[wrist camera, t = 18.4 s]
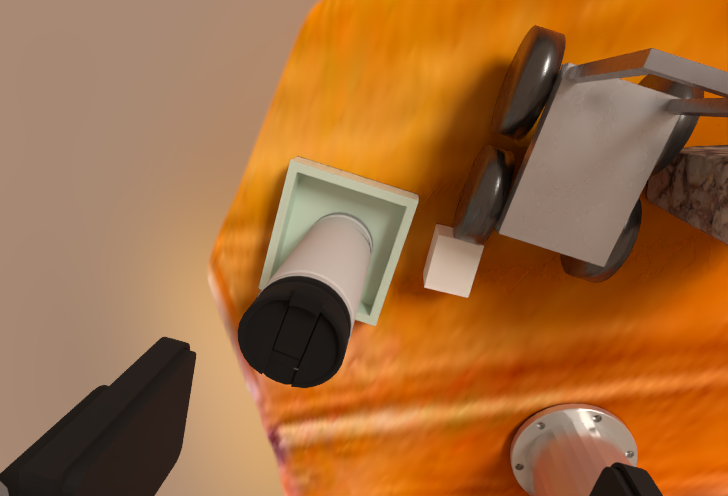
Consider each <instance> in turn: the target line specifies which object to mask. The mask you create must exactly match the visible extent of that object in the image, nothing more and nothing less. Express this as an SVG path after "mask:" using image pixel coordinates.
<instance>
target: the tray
mask: <svg viewBox="0 0 728 496" xmlns="http://www.w3.org/2000/svg"><path fill="white" fill-rule="evenodd" d="M418 202H419V197H418V194H415V193H412V192H409V191H405V190H402V189H399V188H396V187H393V186H390V185H387V184H383V183H380V182H377V181H374V180H371V179H368V178H365V177H362V176H358V175H355V174H352V173H349V172H346V171H343V170H340V169H336V168H333V167H330V166H327V165H324V164H321V163H318V162H314V161H311V160H308V159H305V158H302V157H299V156H298V157H296V158H294V159H292V160H290V163H289V167H288V171H287V176H286V180H285V184H284V188H283V192H282V196H281V200H280V204H279V208H278V212H277V216H276V220H275V224H274V228H273V232H272V236H271V240H270V244H269V248H268V252H267V256H266V260H265V264H264V268H263V272H262V276H261V280H260V284H259V288H258V289H260V290H262V289H263V288H264V287H265V285H266V284H267V283H268V282H269V280H270V279H271V278H272V277H273V275H274V274H275V273H276V272H277V270H278V269H279V268H280V267H281V265H282V264H283V263H284V262H285V260H286V259H287V258H288V256H289V255H290V254H291V253H292V251H293V250H294V249H295V248H296V246H297V245H298V244H299V243H300V241H301V240H302V239H303V238H304V236H305V235H306V234H307V233H308V231H309V230H310V229H311V228H312V226H313V225H314V224H315V223H316V221H318V220H319V219H320V218H321V217H323V216H325V215H327V214H331V213H337V212H341V213H348V214H351V215H353V216H355V217H357V218H359V219H360V220H361V221H362V222H364V224H365V225H366V226H367V227H368V229H369V231H370V233H371V236H372V239H373V252H372V256H371V259H370V263H369V267H368V271H367V275H366V279H365V283H364V287H363V290H362V294H361V298H360V302H359V306H358V310H357V314H356V318H355V320H358V321H361V322H364V323H367V324H370V325H373V326H376V323H377V320H378V317H379V314H380V311H381V309H382V306H383V303H384V300H385V297H386V294H387V291H388V288H389V286H390V283H391V280H392V277H393V274H394V271H395V268H396V265H397V263H398V260H399V257H400V254H401V251H402V248H403V245H404V242H405V239H406V237H407V234H408V231H409V228H410V225H411V222H412V219H413V216H414V214H415V211H416V208H417V205H418Z"/></svg>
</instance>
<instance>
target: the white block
mask: <svg viewBox="0 0 728 496" xmlns="http://www.w3.org/2000/svg"><path fill="white" fill-rule="evenodd" d="M483 249H484V244H482V245H480V246H478V245H475V244H472V243H468V242H465V241H462V240H459V239H456V238H454V236H453V227H448V226H444V225H440V224H436V227H435V230H434V234H433V238H432V241H431V245H430V249H429V252H428V256H427V259H426V263H425V267H424V270H423V279H424V288H428V289H433V290H437V291H441V292H445V293H449V294H454V295H458V296H462V297H466V298H468V297H469V294H470V290H471V287H472V284H473V281H474V278H475V274H476V271H477V268H478V265H479V262H480V258H481V255H482V252H483Z"/></svg>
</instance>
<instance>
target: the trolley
mask: <svg viewBox="0 0 728 496" xmlns="http://www.w3.org/2000/svg"><path fill="white" fill-rule="evenodd" d="M564 50H565V36H564V34H561V33H558V32H555V31H552V30H549V29H546V28H543V27H539V26H536V25H535V26H533V27H532V28H531V29H530V30H529V32H528V33H527V34H526V36H525V38H524V39H523V41H522V43H521V44H520V46H519V48H518V50H517V52H516V54H515V56H514V58H513V60H512V63H511V65H510V67H509V69H508V72H507V74H506V77H505V79H504V82H503V84H502V87H501V90H500V93H499V96H498V99H497V102H496V106H495V109H494V113H493V118H492V126H491V128H492V132H493V133H496V134H499V135H503V136H506V137H509V138H512V139H515V140H521V139H522V138H524V137H525V136H526V135H527V133H528V132H529V131H530V130H531V128H532V127H533V125H534V124H535V122H536V121H537V119H538V117H539V115H540V114H541V112H542V110H543V108H544V106H545V108H544V111H543V113H542V115H541V118H540V120H539V123H538V125H537V128H536V130H535V133H534V135H533V137H532V140H531V142H530V145H529V147H528V150H527V152H526V155H525V157H524V159H523V162H522V164H521V167H520V169H519V172H518V174H517V176H516V179H515V181H514V184H513V186H512V189H511V191H510V188H511V184H512V180H513V175H514V169H515V155H514V153H512V152H509V151H506V150H503V149H500V148H497V147H494V146H491V145H486V146H485V147H484V148H483V149H482V150H481V152H480V153H479V155H478V157H477V158H476V160H475V162H474V164H473V166H472V169H471V171H470V173H469V175H468V178H467V180H466V183H465V186H464V188H463V191H462V194H461V197H460V200H459V204H458V207H457V211H456V215H455V220H454V226H453V236H454V238H456V239H459V240H462V241H465V242H468V243H472V244H475V245H478V246H480V245H482V244H483V243H484V242H485V241H486V240H487V239H488V237H489V236H490V234H491V233H492V231H493V229H494V228H495V226H496V228H495V229H496V230H497V232H498V233H499V234H502V235H505V236H508V237H511V238H514V239H517V240H521V241H524V242H527V243H530V244H533V245H536V246H539V247H543V248H546V249H549V250H552V251H555V252H558V253H561V263H562V267H563V269H564V271H565V272H566V273H567V274H569V275H572V276H575V277H578V278H581V279H584V280H587V281H591V282H595V283H598V282H602V281H605V280H607V279H608V278H610V277H611V276H612V275H613V274H615V273H616V272H617V271H618V269H619V268H620V267H621V266H622V265H623V263H624V262H625V260H626V259H627V257H628V256H629V254H630V252H631V250H632V248H633V246H634V244H635V241H636V238H637V235H638V232H639V228H640V224H641V215H642V209H641V202H640V199H639V196H640V194H641V192H642V190H643V188H644V186H645V184H646V182H647V180H648V178H650V177H652V176H654V175H656V174H658V173H659V172H660V171H662V170H663V169H664V168H665V167H666V166H668V165H669V164H670V163H671V162H672V161H673V160H674V158H675V157H676V156H677V155H678V154H679V152H680V151H681V150H682V148H683V147H684V145H685V144H686V142H687V141H688V139H689V137H690V136H691V134H692V132H693V130H694V128H695V126H696V124H697V121H698V118H699V116H711V117H728V72H725V71H722V70H719V69H716V68H713V67H710V66H707V65H704V64H700V63H697V62H694V61H691V60H688V59H685V58H682V57H678V56H675V55H672V54H669V53H666V52H663V51H660V50H656V49H653V48H650V49H646V50H642V51H637V52H633V53H629V54H625V55H620V56H616V57H612V58H607V59H603V60H599V61H594V62H590V63H586V64H581V65H574V64H571V63H567V64H563V65H562V67H561V69H560V66H561V63H562V59H563V55H564ZM559 70H560V71H559ZM558 73H559V74H558ZM640 75H647V76H646V77H645V78H644V79H643V80H642V81H641V82H640V83H639V84H638V85H637V84H634V83H631V82H628V81H624V80H621V79H618V78H624V77H632V76H640ZM704 91H706V92H710V93H713V94H716V95H719V96H722V97H725V98H704ZM509 191H510V192H509ZM497 222H498V223H497ZM496 224H497V225H496Z"/></svg>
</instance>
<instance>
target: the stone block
mask: <svg viewBox="0 0 728 496" xmlns="http://www.w3.org/2000/svg"><path fill="white" fill-rule="evenodd" d="M646 194H647V199H648V200H649V201H650V202H651V203H653V204H655V205H657V206H658V207H660V208H662V209H664V210H666V211H667V212H669V213H670V214H672V215H674V216H676V217H677V218H680V219H681V220H682V221H684V222H686V223H688V224H690V225H692V226H694V227H695V228H697V229H699V230H701V231H703V232H705V233H707V234H708V235H710V236H712V237H714V238H716V239H718V240H720V241H722V242H724V243H726V244H727V245H728V145H717V146H695V147H687V148H682V150H681V151H680V152H679V154H678V155H677V156H676V157H675V158H674V160H673V161H672V162H671V163H670V164H669V165H668V166H666V167H665V168H664V169H663V170H662V171H660V172H659V173H658V174H656V175H654V176H652V177H650V178H649V180H648V189H647V192H646Z"/></svg>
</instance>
